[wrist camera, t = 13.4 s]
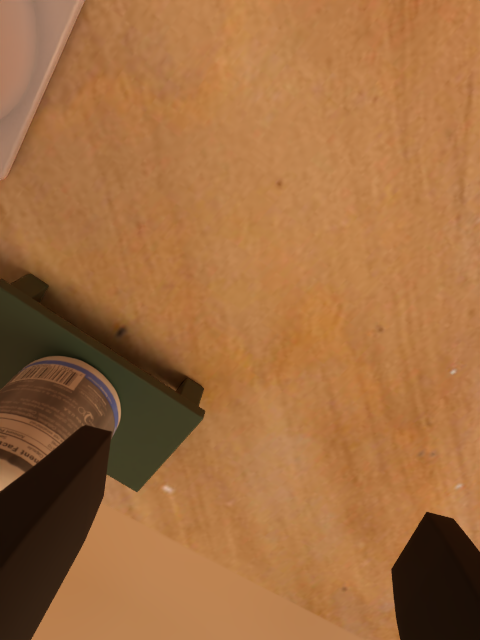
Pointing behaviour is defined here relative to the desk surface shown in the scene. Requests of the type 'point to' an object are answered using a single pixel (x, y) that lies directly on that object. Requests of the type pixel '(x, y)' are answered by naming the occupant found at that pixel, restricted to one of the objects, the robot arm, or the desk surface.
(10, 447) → the pill bottle
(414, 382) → the desk surface
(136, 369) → the green footed tray
